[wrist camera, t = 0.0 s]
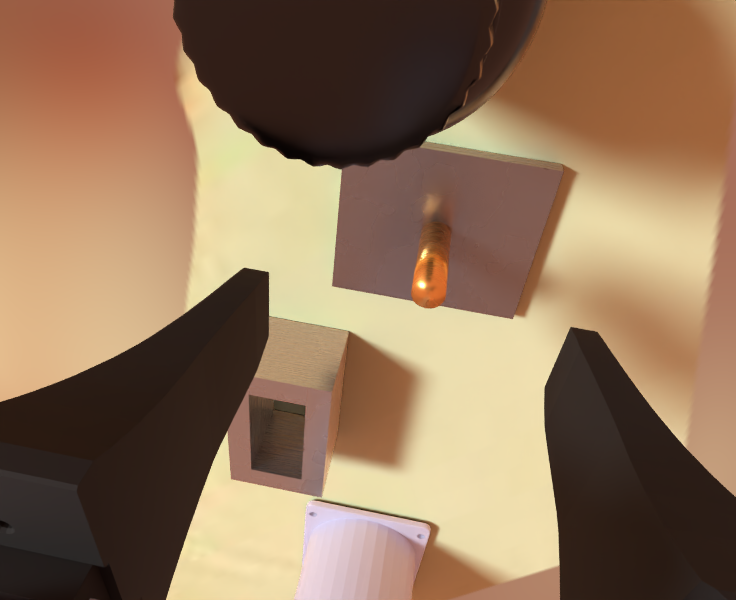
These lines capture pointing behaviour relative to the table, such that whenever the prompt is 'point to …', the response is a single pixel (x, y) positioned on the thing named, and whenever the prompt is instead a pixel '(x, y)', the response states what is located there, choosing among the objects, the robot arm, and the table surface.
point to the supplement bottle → (353, 68)
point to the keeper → (444, 227)
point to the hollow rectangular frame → (287, 430)
